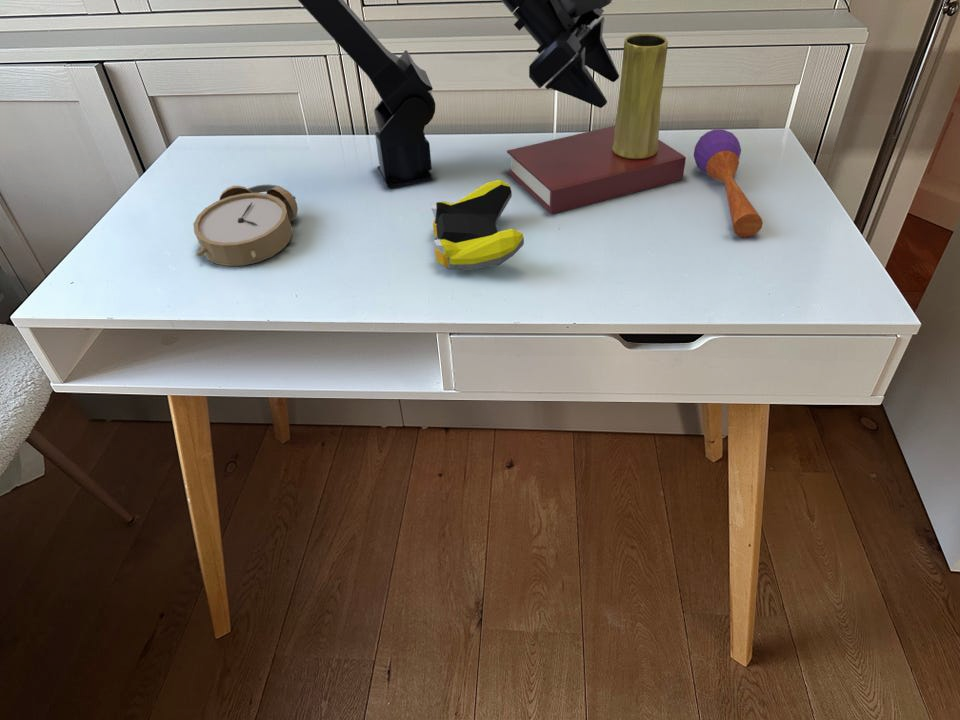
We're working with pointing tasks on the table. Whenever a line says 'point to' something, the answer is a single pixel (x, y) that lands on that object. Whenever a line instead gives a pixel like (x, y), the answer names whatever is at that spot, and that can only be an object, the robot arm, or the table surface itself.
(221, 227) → the alarm clock
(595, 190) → the book
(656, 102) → the vase
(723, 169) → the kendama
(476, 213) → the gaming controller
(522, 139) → the table surface
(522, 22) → the robot arm
